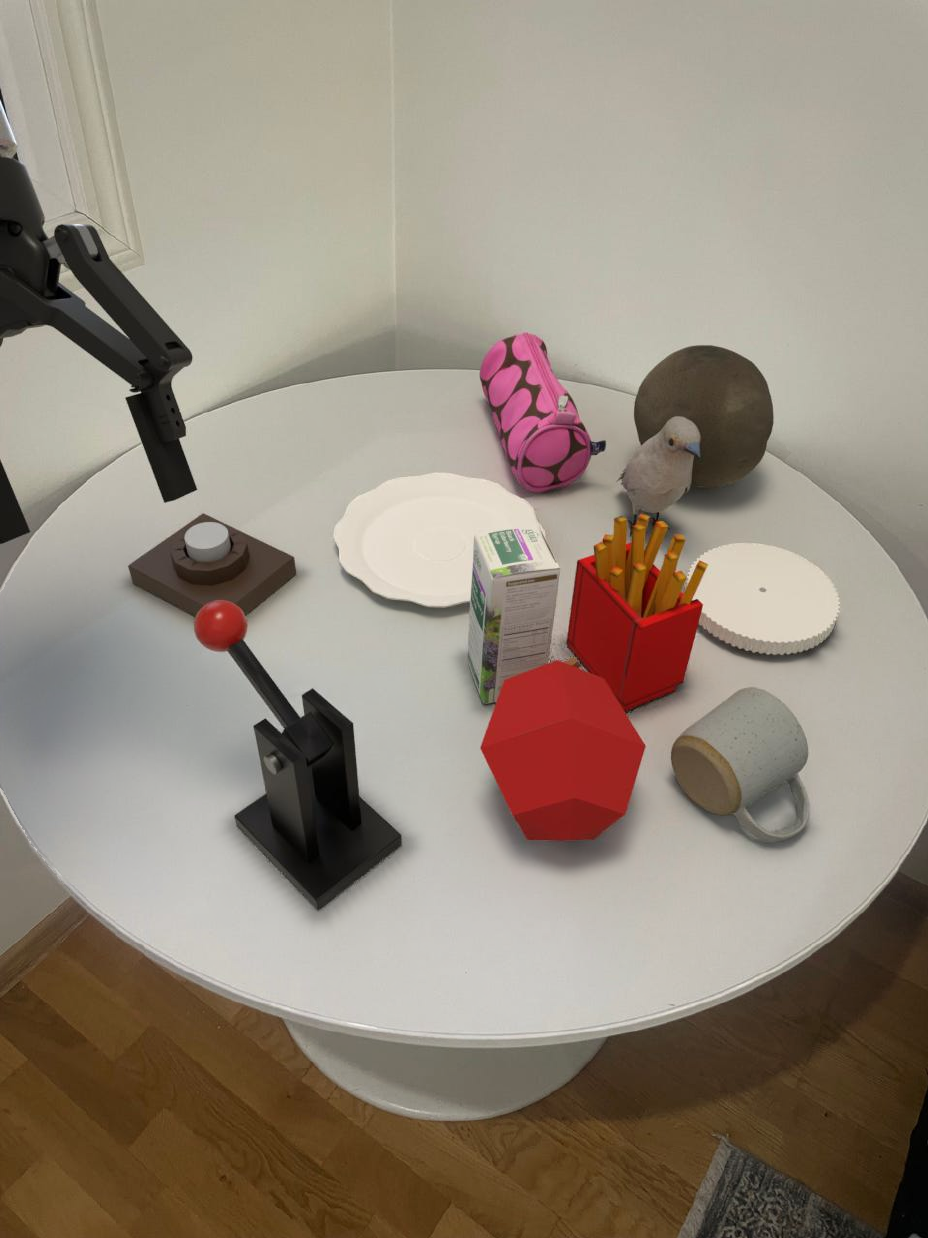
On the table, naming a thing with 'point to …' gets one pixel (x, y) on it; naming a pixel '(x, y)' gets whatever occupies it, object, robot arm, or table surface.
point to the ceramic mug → (744, 759)
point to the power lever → (258, 675)
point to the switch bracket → (315, 810)
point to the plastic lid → (765, 598)
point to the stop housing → (213, 571)
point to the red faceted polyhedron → (562, 752)
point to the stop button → (207, 542)
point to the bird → (662, 468)
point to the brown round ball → (710, 409)
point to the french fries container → (635, 613)
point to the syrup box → (510, 606)
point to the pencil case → (535, 415)
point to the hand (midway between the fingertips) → (94, 519)
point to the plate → (424, 535)
